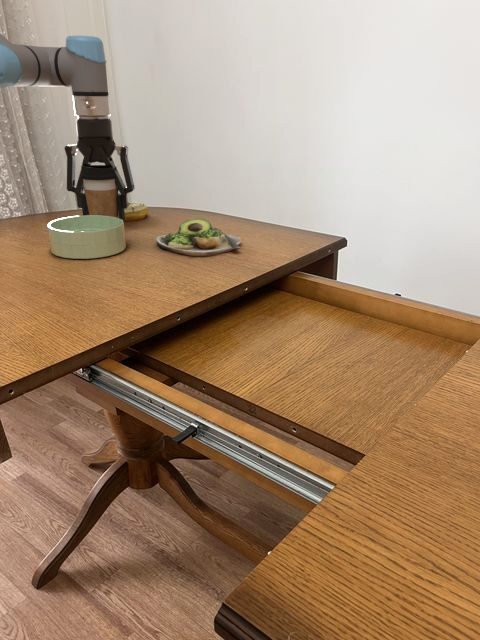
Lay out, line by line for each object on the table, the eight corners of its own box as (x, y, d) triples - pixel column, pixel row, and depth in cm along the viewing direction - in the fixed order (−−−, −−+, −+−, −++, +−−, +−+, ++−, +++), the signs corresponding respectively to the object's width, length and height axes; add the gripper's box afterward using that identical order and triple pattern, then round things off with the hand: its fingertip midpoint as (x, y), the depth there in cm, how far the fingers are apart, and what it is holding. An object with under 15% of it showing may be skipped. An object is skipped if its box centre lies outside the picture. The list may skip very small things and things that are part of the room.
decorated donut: (118, 213, 150) (116, 199, 148) (154, 215, 148) (153, 201, 146) (99, 221, 141) (98, 206, 139) (138, 224, 139) (136, 209, 137)
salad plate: (264, 248, 121) (265, 228, 119) (204, 265, 109) (203, 242, 107) (206, 232, 132) (205, 213, 130) (146, 246, 121) (144, 225, 119)
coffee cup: (80, 230, 130) (72, 164, 123) (112, 225, 135) (105, 161, 128) (98, 237, 124) (91, 169, 118) (130, 231, 130) (125, 165, 123)
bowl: (41, 261, 109) (36, 231, 107) (64, 241, 123) (60, 214, 120) (117, 262, 110) (114, 232, 107) (131, 242, 124) (129, 215, 121)
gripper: (39, 117, 115) (56, 225, 125) (137, 119, 116) (145, 226, 126) (51, 115, 122) (65, 218, 132) (143, 117, 122) (150, 219, 132)
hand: (104, 222), depth 129 cm, fingers closed on coffee cup, 8 cm apart
